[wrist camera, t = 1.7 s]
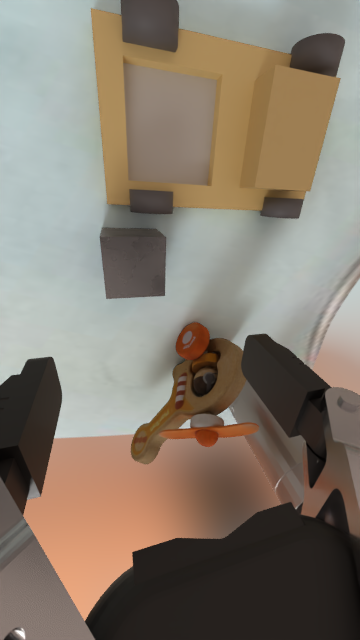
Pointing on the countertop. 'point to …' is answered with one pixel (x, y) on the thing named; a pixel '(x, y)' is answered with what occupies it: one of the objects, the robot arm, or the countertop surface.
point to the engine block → (133, 262)
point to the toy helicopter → (197, 395)
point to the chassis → (208, 114)
